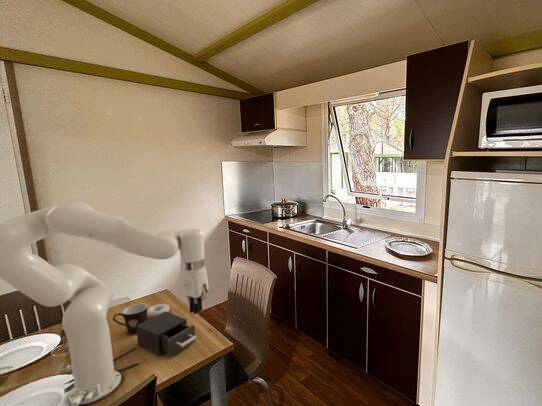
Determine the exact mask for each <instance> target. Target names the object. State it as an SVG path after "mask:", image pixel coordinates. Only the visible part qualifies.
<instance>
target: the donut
mask: <svg viewBox="0 0 542 406" xmlns="http://www.w3.org/2000/svg"><path fill="white" fill-rule="evenodd" d="M165 311H166V312H169V313H170V306H169V305H168V304H166V303H157V304H154V305H151V306H149V307H147V319H148V320H149V319H151V318H153V317H155V316H157V315H159V314H161V313H163V312H165Z"/></svg>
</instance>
